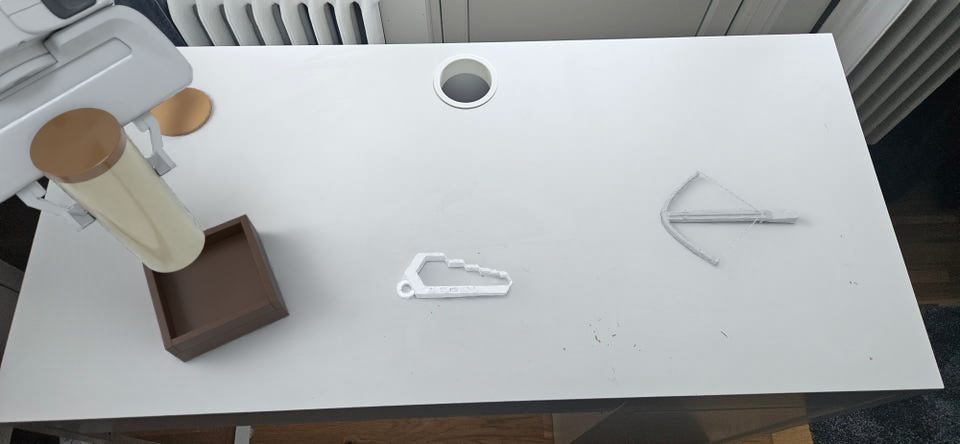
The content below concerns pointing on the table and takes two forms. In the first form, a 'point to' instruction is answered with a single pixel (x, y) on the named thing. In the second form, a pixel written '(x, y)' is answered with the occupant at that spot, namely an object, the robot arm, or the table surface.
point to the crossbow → (718, 218)
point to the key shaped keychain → (447, 291)
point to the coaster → (182, 112)
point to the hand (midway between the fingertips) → (129, 197)
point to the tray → (217, 292)
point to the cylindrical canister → (117, 187)
